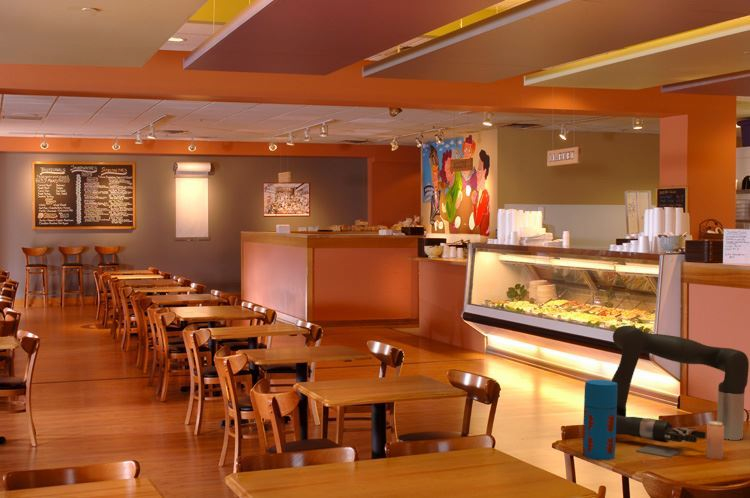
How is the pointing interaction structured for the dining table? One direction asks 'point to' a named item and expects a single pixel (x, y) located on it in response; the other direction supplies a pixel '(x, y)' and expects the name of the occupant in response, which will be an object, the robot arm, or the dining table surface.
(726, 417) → the robot arm
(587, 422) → the thermos
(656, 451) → the charcoal mat
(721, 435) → the terracotta shaker
